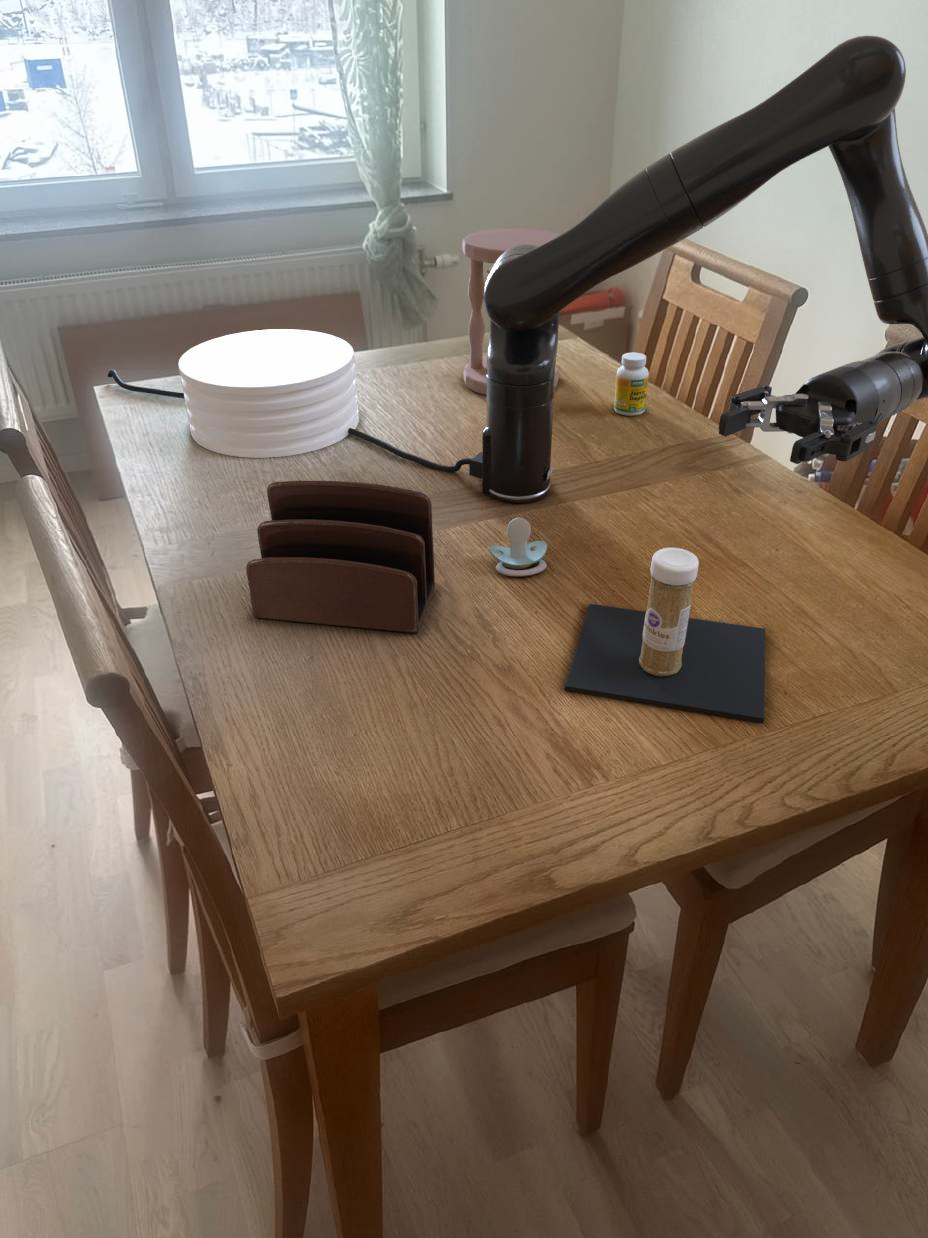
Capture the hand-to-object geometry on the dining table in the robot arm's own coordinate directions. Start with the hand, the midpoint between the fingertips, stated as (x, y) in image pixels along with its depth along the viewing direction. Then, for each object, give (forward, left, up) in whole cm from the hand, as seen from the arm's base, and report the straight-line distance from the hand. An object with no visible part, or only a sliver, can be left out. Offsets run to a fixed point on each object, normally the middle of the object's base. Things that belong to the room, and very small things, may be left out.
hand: (757, 439), depth 91 cm
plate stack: (-75, +43, -24) cm, 90 cm away
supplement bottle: (-18, +63, -24) cm, 70 cm away
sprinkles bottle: (-6, -9, -23) cm, 25 cm away
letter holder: (-43, -6, -24) cm, 50 cm away
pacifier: (-25, +8, -24) cm, 35 cm away
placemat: (-5, -7, -23) cm, 25 cm away
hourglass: (-41, +72, -24) cm, 86 cm away
